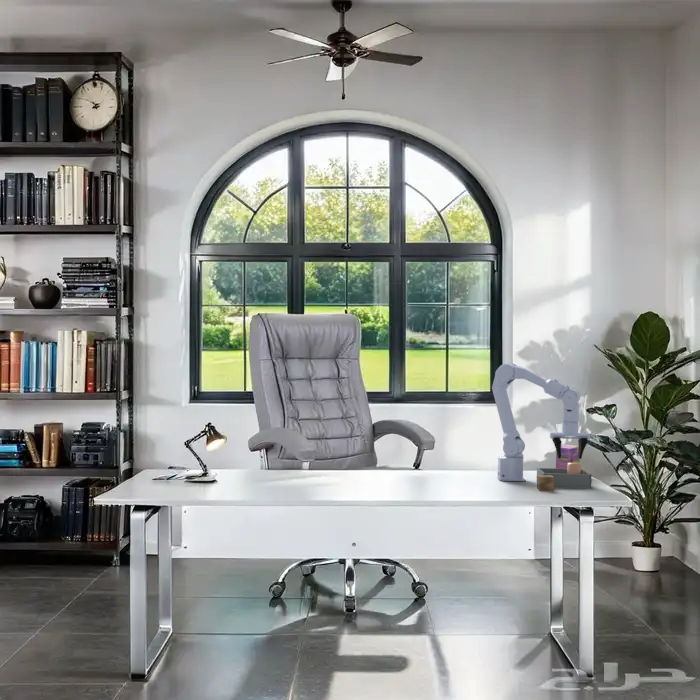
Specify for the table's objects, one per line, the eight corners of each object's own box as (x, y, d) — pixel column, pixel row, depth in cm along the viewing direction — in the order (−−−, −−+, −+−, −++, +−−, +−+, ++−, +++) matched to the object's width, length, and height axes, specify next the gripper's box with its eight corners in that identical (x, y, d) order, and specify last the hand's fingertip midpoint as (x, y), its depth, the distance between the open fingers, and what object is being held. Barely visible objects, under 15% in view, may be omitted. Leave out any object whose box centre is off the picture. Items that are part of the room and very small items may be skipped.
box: (569, 478, 348) (569, 448, 348) (555, 477, 352) (555, 446, 351) (579, 475, 356) (580, 445, 356) (566, 474, 360) (566, 444, 360)
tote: (543, 487, 328) (543, 473, 328) (536, 481, 341) (536, 468, 341) (591, 488, 327) (591, 474, 327) (582, 482, 341) (582, 468, 340)
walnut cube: (539, 491, 320) (539, 477, 320) (536, 488, 325) (537, 474, 325) (553, 491, 320) (553, 477, 320) (550, 488, 325) (551, 475, 325)
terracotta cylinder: (568, 482, 334) (568, 463, 334) (565, 480, 339) (566, 462, 339) (581, 483, 334) (582, 464, 334) (579, 481, 339) (579, 462, 339)
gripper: (553, 422, 330) (552, 459, 331) (592, 423, 330) (591, 460, 330) (549, 420, 337) (548, 456, 338) (587, 421, 337) (587, 457, 338)
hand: (569, 458), depth 334 cm, fingers open, 7 cm apart
